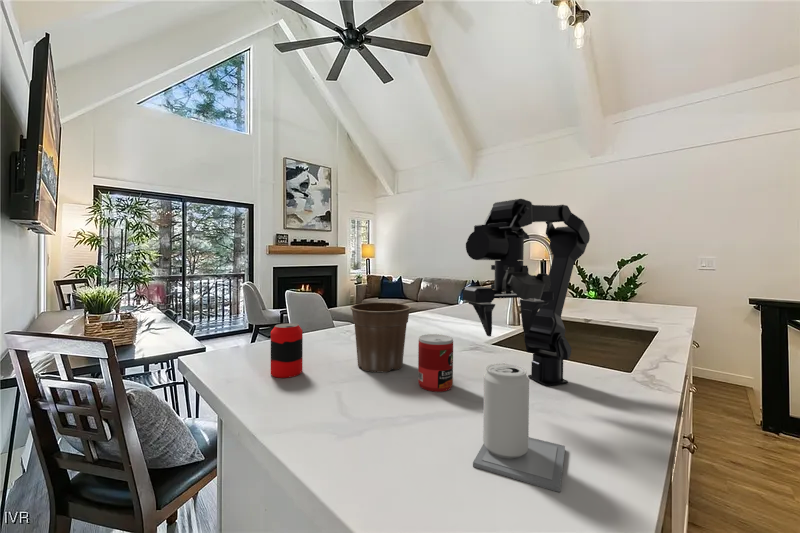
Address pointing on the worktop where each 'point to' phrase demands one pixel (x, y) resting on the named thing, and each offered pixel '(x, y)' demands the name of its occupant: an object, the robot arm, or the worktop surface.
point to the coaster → (528, 464)
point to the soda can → (286, 350)
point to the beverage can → (506, 410)
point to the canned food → (435, 362)
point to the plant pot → (380, 335)
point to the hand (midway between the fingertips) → (507, 334)
